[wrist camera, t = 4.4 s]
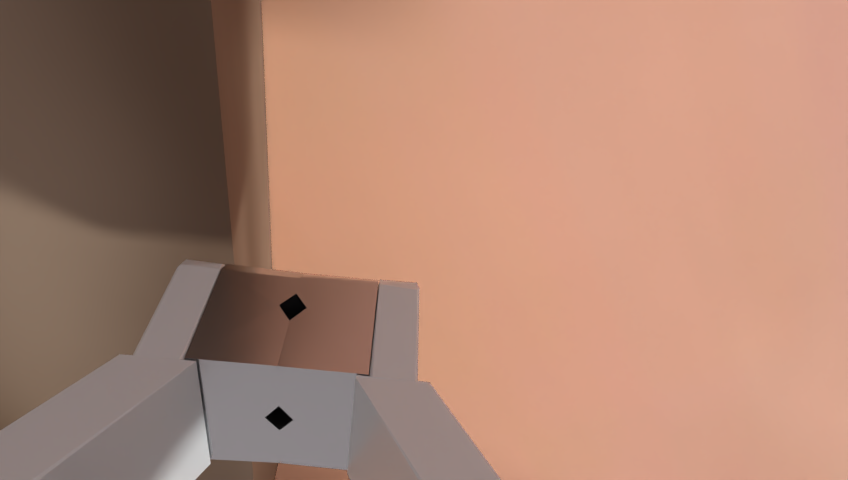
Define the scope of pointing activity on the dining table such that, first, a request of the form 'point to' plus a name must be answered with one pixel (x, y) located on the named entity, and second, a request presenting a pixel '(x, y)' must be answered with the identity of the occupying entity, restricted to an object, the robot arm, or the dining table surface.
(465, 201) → the dining table surface
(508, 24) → the dining table surface
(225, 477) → the seat plate
